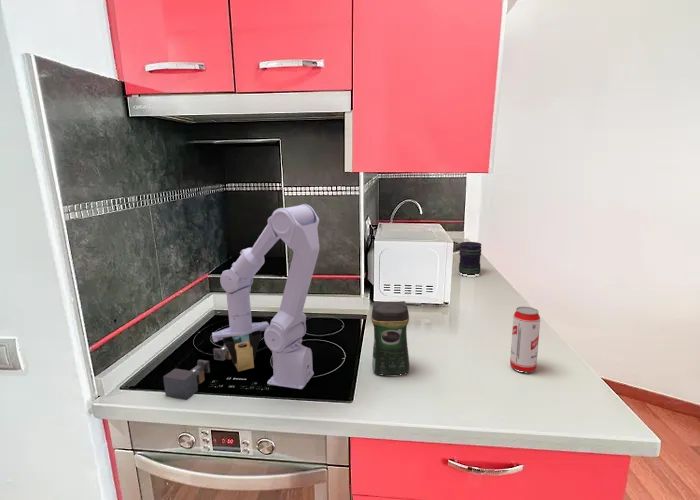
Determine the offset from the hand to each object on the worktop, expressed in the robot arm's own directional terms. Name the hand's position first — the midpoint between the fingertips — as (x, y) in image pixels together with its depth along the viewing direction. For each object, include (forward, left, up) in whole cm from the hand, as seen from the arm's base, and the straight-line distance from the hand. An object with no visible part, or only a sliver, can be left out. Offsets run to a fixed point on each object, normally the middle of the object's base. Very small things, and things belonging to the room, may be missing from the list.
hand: (243, 360), depth 108 cm
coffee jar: (-38, -8, -2) cm, 39 cm away
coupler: (0, 0, -2) cm, 2 cm away
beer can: (-72, -17, -2) cm, 74 cm away
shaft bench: (+8, +4, -2) cm, 8 cm away
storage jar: (-58, -105, -2) cm, 120 cm away
